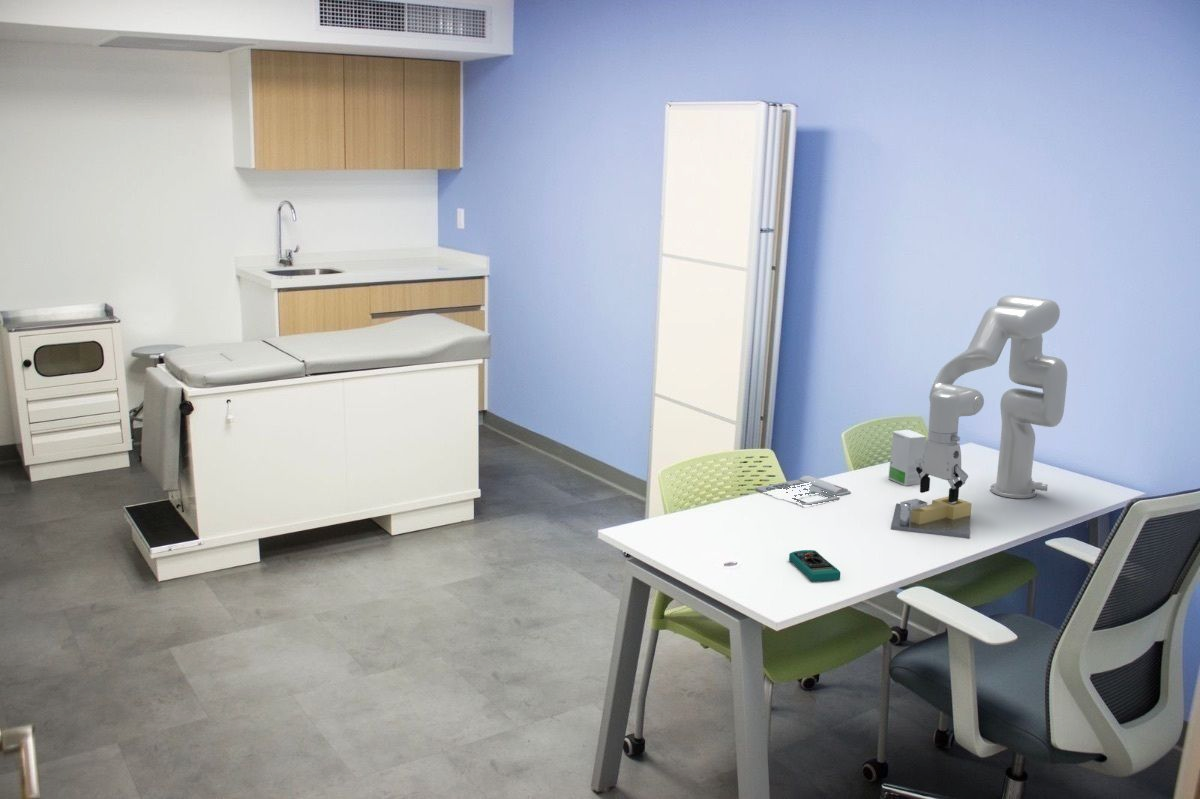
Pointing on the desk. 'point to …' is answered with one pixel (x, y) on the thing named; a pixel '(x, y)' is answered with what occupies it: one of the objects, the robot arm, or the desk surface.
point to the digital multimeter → (814, 565)
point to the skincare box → (906, 456)
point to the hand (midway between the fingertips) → (938, 496)
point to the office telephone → (814, 488)
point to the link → (941, 511)
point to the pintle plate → (938, 527)
